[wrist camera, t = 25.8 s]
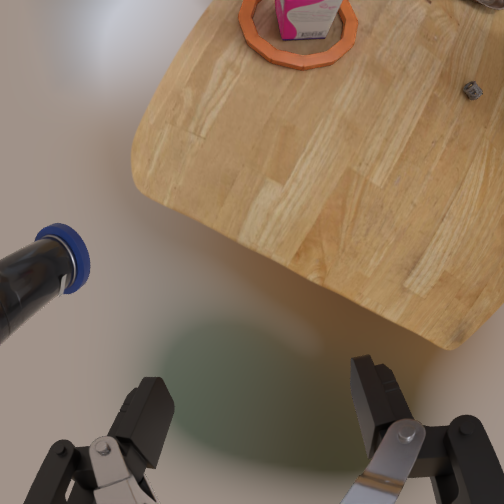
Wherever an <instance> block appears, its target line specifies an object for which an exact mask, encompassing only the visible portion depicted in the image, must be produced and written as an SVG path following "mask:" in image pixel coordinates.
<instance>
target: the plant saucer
mask: <svg viewBox="0 0 504 504" xmlns="http://www.w3.org/2000/svg"><path fill="white" fill-rule="evenodd" d="M473 1H475V2H477V3H479V4H481V5H483V6H486V7H489V8H492V9H496V10H502V9H504V0H473Z"/></svg>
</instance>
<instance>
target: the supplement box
mask: <svg viewBox="0 0 504 504" xmlns="http://www.w3.org/2000/svg"><path fill="white" fill-rule="evenodd" d="M342 1H343V0H275V10H276V15H277V20H278V25H279V30H280V34H281V39H282V40H283V41H287V40H304V39H325V38H326V36H327V33H328V31H329V29H330V27H331V25H332V22H333V20H334V18H335V16H336V13H337V11H338V9H339V7H340V5H341V3H342Z"/></svg>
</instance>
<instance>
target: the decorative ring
mask: <svg viewBox="0 0 504 504" xmlns="http://www.w3.org/2000/svg"><path fill="white" fill-rule="evenodd" d="M471 84H472V86H470V87H471V88H470V87H469V88H468V86H469V85H471ZM463 91H464V92H465V93H466V94H467V95H468V97H469V98H470V100H476V99H478V98H479V97H480V96H481V94H483V93H482V92H483V91H482V89H481V88H480V87H479V86H478V85H477V84H476V81H471V82H469V83H468V84H467V85H466V86H465V87H464V89H463ZM475 93H476V95H475Z"/></svg>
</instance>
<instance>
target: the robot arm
mask: <svg viewBox="0 0 504 504" xmlns="http://www.w3.org/2000/svg"><path fill="white" fill-rule="evenodd" d="M77 273H78V265H77V260H76V257H75V254H74V252H73V250H72V248H71V247H70V245H69V244H68V243H67V242H66V241H65V240H64V239H63V238H62V237H60V236H58V235H55V234H48V235H46V236H44V237H42V238H41V239H39V240H37V241H35V242H33V243H31V244H29V245H27V246H25V247H23V248H21V249H19V250H18V251H16V252H14V253H12V254H10V255H8V256H6V257H5V258H3V259H1V260H0V345H1V344H3V343H4V342H5V341H6V340H7V339H8V338H9V337H10V336H11V335H12V334H13V333H15V332H16V331H17V330H18V329H19V328H20V327H21V326H22V325H23V324H24V323H26V322H27V321H28V320H29V319H30V318H31V317H32V316H34V315H35V314H36V313H37V312H38V311H39V310H41V309H42V308H43V307H44V306H45V305H47V304H48V303H49V302H50V301H51V300H53V299H54V298H55V297H56V296H58V295H59V297H60V296H61V295H62V294H63V292H64V290H65V289H67V288H69V287H70V286H71V285H72V284H73V283H74V282H75V280H76V278H77ZM350 382H351V383H350V385H351V394H352V399H353V402H354V406H355V410H356V413H357V417H358V420H359V424H360V428H361V432H362V436H363V440H364V444H365V448H366V452H367V456H368V459H370V458H372V459H371V461H370V463H369V464H368V466H367V468H366V469H365V471H364V472H363V474H362V475H360V476H359V477H358V478H357V479H356V480H355V482H354V483H353V485H352V486H351V488H350V489H349V491H348V492H347V494H346V495H345V497H344V498H343V499H342V501H341V502H340V504H394V503H395V502H396V500H397V498H398V496H399V494H400V492H401V490H402V488H403V486H404V484H405V482H406V480H407V478H416V477H430V479H431V483H432V486H433V491H434V495H435V499H436V503H437V504H504V473H503V470H502V468H501V465H500V463H499V460H498V458H497V456H496V453H495V451H494V449H493V446H492V445H491V442H490V440H489V438H488V435H487V433H486V431H485V429H484V427H483V425H482V423H481V421H480V420H479V419H478V418H476V417H474V416H472V415H461V416H459V417H457V418H455V419H454V420H453V421H452V422H451V423H450V425H448V426H435V427H429V426H425V425H422V424H421V423H420V422H419V421H417V420H415V419H414V418H413V416H412V414H411V412H410V410H409V407H408V405H407V403H406V401H405V398H404V396H403V394H402V392H401V390H400V388H399V385H398V383H397V382H396V379H395V377H394V374H393V372H392V370H390V369H389V368H388V367H387V366H385V365H384V364H380V365H376V366H374V363H373V361H372V359H371V356H370V355H364V356H359V357H354V358H351V381H350ZM173 414H174V401H173V399H172V397H171V395H170V393H169V391H168V389H167V387H166V385H165V383H164V381H163V379H162V378H160V377H144V378H143V379H142V381H141V383H140V385H139V387H138V388H134V389H133V390H132V391H131V392H130V393H129V394H128V395H127V397H126V399H125V401H124V403H123V405H122V407H121V409H120V412H119V413H118V415H117V416H116V418H115V421H114V423H113V425H112V426H111V428H110V431H109V433H108V435H107V436H102V437H99V438H97V439H96V440H95V441H93V442H92V444H91V445H90V446H86V447H75V446H74V445H73V444H72V443H71V442H70V441H68V440H59V441H57V442H55V443H54V444H53V445H52V446H51V448H50V450H49V452H48V454H47V456H46V458H45V459H44V461H43V463H42V465H41V467H40V470H39V471H38V473H37V476H36V478H35V480H34V482H33V484H32V486H31V488H30V490H29V492H28V495H27V497H26V499H25V501H24V503H23V504H160V502H159V500H158V498H157V496H156V494H155V492H154V490H153V488H152V486H151V484H150V482H149V480H148V478H147V476H146V474H145V473H144V472H145V469H146V468H152V469H156V466H157V463H158V460H159V457H160V454H161V451H162V448H163V444H164V441H165V438H166V435H167V432H168V429H169V426H170V423H171V420H172V417H173ZM71 479H73V480H74V481H75V483H74V486H73V488H72V491H71V493H70V496H69V498H68V501H66V499H65V493H66V491H67V488H68V486H69V483H70V481H71Z"/></svg>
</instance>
